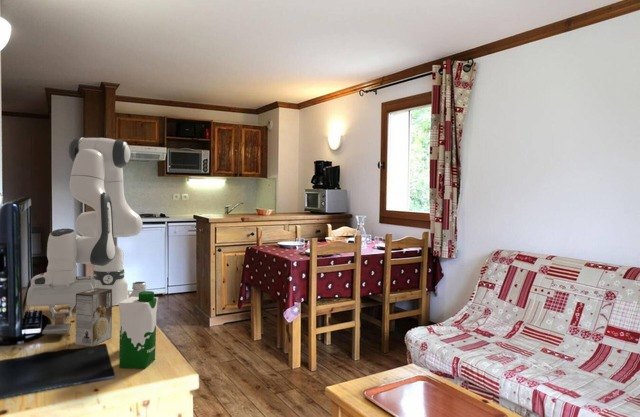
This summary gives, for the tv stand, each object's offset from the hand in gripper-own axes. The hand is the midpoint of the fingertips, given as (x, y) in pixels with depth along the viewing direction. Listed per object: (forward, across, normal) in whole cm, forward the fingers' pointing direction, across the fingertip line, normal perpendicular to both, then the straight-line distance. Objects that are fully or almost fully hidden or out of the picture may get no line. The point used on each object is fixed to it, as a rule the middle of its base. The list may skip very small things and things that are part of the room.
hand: (61, 317), depth 154 cm
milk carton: (+3, -25, +40) cm, 47 cm away
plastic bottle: (+4, -25, +26) cm, 36 cm away
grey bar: (+2, 0, +3) cm, 4 cm away
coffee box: (+4, -12, +16) cm, 20 cm away
